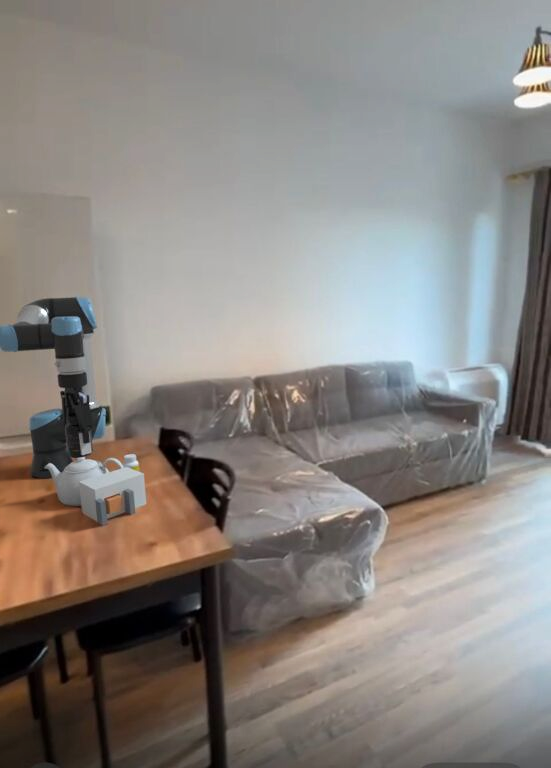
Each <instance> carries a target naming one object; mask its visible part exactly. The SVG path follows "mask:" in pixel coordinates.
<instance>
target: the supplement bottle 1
mask: <svg viewBox="0 0 551 768" xmlns="http://www.w3.org/2000/svg"><path fill="white" fill-rule="evenodd" d="M67 422H69V423H68V424H67V425H66V426H65V435H66V442H67V450H68V455H69V457H71V458H72V459H77V458H81V457H85V458H86V457H88V456H90V455H92V454H93V453H94V444H93V440H92V436H91V430H90V431H89V433H90V442H91V451H92V453H89V454H85V455H81V448H80V439H79V433H78V431H80V428H79V424H78V421H77V417H76V413H71V414H68V415H67Z"/></svg>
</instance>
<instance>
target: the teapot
mask: <svg viewBox="0 0 551 768" xmlns="http://www.w3.org/2000/svg"><path fill="white" fill-rule="evenodd" d="M109 462H113V463H115V464H116V465H117V466H118V468H119V469H122V468H123V463H122V462H121V461H120V460H119V459H116V458H115V457H109V458H106V459H105V460H104V461H103V462H100V461H98V460H94V459H88V458H87V459H86V457H81V458H76V460H75V461H74V460H73V462H72V463H70V464H69V465H68V466H67V467H65V469H64V471H63V472H62V473H61V472H59V471H58V469H57V468H56V467H55V466H54V465H53V464H51V463H49V464H48V465H46V466H45V467H44V468H45V469H48V470H49V471H50V473H51V475H52V477H51V478H52V481H53V484H54V486H55V488H56V494H57V498H58V500H59V501H60V503H62V504H63V505H66V506H69V507H70V506H72V507H79V506H80V507H82V505H81V496H80V487H79V482H80V481H83V480H86V479H89V478H93V477H96V476H99V475H102V474H106V473H109V472H110V471H109V470H108V468H107V467H106V466H107V463H109Z"/></svg>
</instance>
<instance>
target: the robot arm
mask: <svg viewBox="0 0 551 768" xmlns="http://www.w3.org/2000/svg"><path fill="white" fill-rule="evenodd" d="M93 308H94V307H93V304H92V301H91V299H90V298H88V297H85V296H84V297H82V296H81V297H78V296H76V297H73V296H72V297H51V298H50V297H49V298H48V297H47V298H40V299H37V300H35V301H32V302H29V303H28V304H26V305H24V306H22V308H20V310H19V311H18V312H17V313H18V314H17V320H16V321H15V322H14V324H6V325H1V326H0V349H1V350H0V351H2V352H4V353H7V352H9V353H11V352H12V353H17V352H29V351H41V350H54V357H55V362H54V366H55V367H56V371H57V373H58V374H57V376H56V377H57V382H58V387H59V388H61V389H64V390H61V391H59V392H60V393H59V394H60V398H61V399H60V400H61V408H51V409H47V410H44V411H40V412H38V413H35V414H32V415H31V416H30V418H29V431H30V437H31V444H32V452H33V455H32V459H31V463H30V464H31V465H30V469H29V471H30V476H31V475H32V476H34V477H33V478H35V477H37V478H36V479H50V478H52V475H51V473H50V471H49V470H48V469H45V468H44V467H45V466H46V465H48V464H49V463H51V464H53V465H54V466H55V467H56V468H57V469H58V471H59V472H61V473H62V472H63V471H64V469H65V467H67V466H68V465H69V464H70V463H72V462H74V460H73V458H71V457H69V455H68V450H67V442H66V435H65V426H66V425H67V424H68V423H69V422H67V415H68V414H71V413H76V417H77V421H78V424H79V428H80V431H78V433H79V439H80V448H81V455H85V454H89V453H92V451H91V442H90V433H89V431H90V430H91V436H92V441H95V440H99V439H102V438H104V437H105V433H106V412H107V411H106V408H104V407H102V403H100V402H99V401H98V400H97V393H96V384H95V375H94V364H93V363H94V362H93V354H92V344H91V338H92V337H93V335H94V334H95V333H94V332H95V331H94V330H96V329H98V325H97V321H96V315H95V312H94V309H93ZM92 454H93V453H92ZM32 476H31V477H32Z"/></svg>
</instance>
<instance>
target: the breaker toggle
mask: <svg viewBox="0 0 551 768" xmlns="http://www.w3.org/2000/svg"><path fill="white" fill-rule="evenodd" d="M104 501H105V504H106V512H108V513H109V514H112V513H115V512H117V511H120V510H123V506H122V497H121V496H119V495H117V494H116V495H113V496H110V497H107V498H104Z"/></svg>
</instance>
